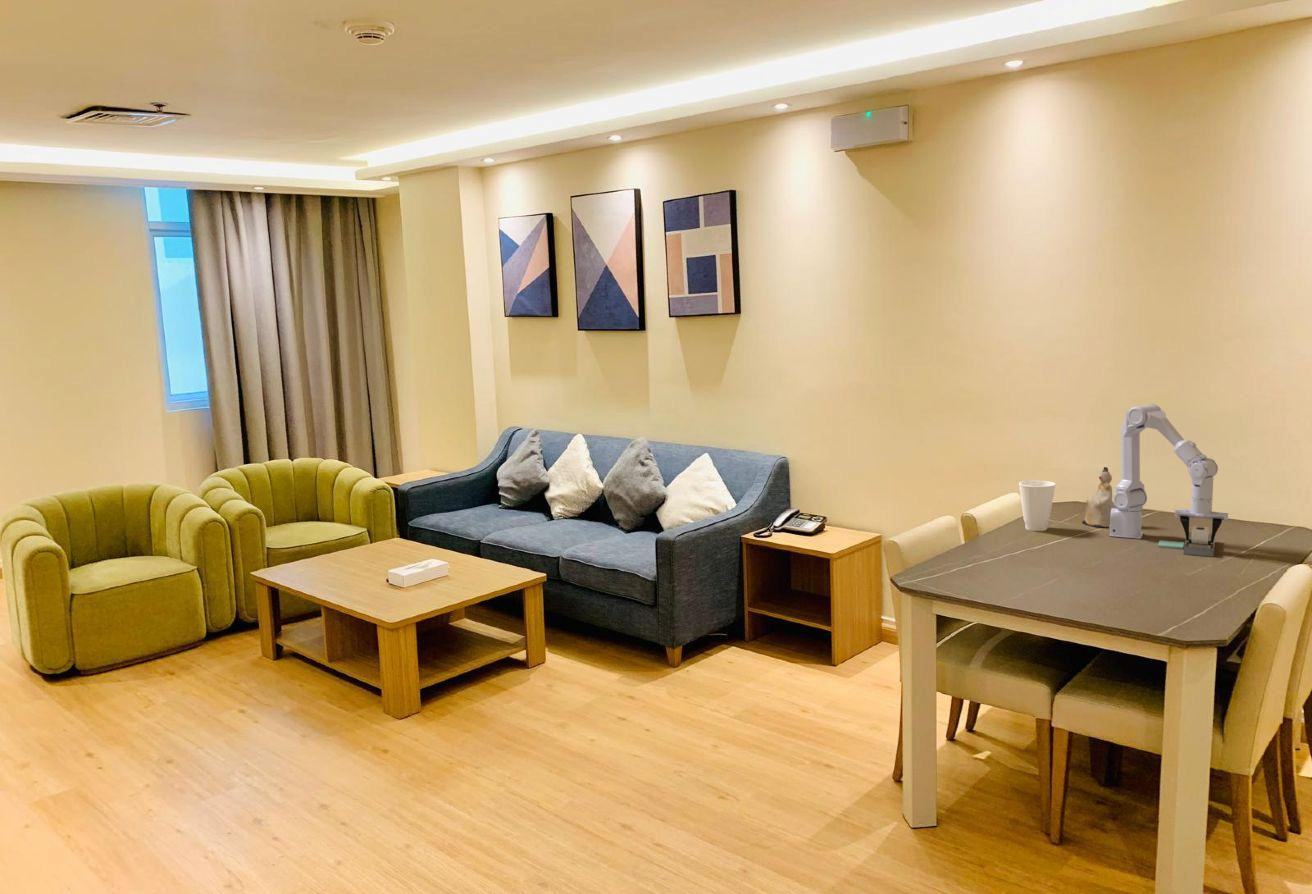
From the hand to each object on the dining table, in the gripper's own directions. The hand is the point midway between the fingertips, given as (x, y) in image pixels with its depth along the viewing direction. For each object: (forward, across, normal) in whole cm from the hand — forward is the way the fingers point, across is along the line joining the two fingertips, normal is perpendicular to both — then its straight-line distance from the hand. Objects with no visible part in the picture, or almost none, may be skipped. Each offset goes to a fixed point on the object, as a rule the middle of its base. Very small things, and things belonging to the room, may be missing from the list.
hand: (1199, 541), depth 311 cm
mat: (+3, -8, +3) cm, 9 cm away
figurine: (+3, -31, +26) cm, 41 cm away
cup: (+3, -50, +11) cm, 51 cm away
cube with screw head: (+3, 0, 0) cm, 3 cm away
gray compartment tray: (+3, 0, +3) cm, 4 cm away
